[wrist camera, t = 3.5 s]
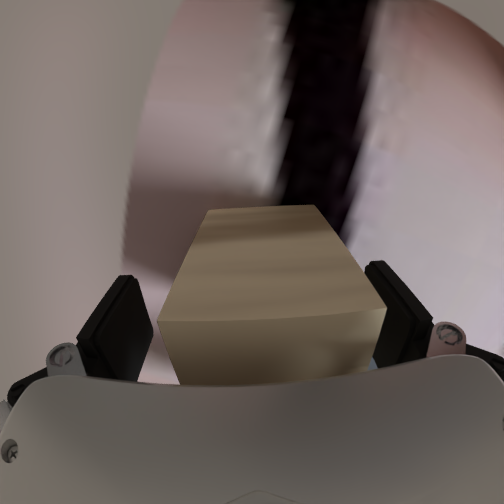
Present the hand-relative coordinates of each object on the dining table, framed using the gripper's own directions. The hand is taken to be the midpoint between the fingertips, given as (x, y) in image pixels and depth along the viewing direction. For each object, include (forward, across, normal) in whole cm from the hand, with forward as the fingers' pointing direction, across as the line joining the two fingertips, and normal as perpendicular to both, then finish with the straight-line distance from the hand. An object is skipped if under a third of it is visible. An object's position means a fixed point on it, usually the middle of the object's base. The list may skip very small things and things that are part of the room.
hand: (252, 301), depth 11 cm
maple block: (+4, -1, 0) cm, 4 cm away
